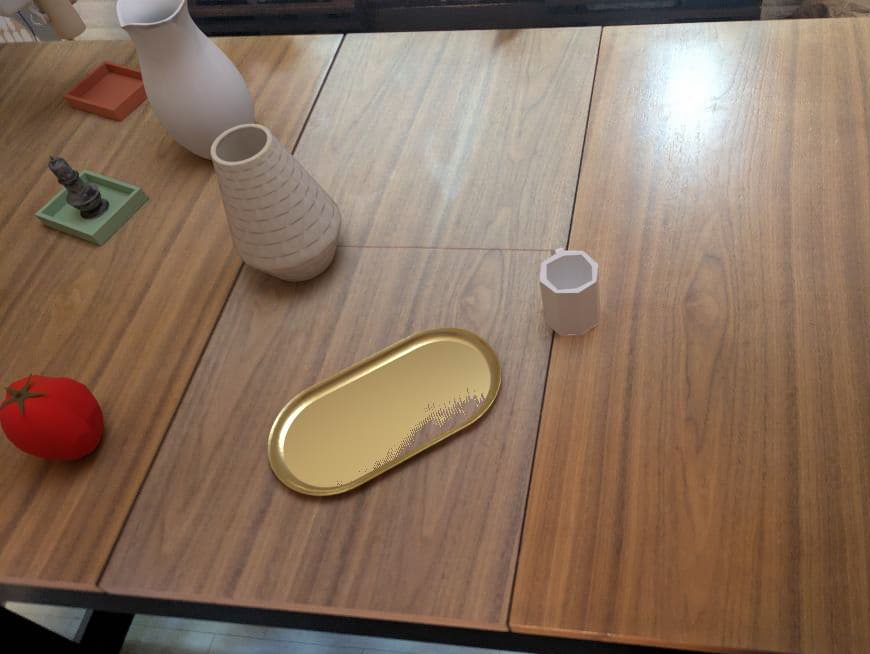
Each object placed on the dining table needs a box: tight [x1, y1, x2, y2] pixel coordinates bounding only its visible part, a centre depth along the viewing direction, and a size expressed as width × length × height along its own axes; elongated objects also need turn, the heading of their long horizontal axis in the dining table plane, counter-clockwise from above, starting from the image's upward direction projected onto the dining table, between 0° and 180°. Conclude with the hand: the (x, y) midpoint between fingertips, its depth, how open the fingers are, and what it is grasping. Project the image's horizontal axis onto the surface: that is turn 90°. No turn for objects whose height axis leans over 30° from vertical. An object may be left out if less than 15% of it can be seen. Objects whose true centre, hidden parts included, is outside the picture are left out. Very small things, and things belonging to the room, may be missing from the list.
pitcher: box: [115, 0, 256, 161], centre depth 126 cm, size 24×17×28 cm
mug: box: [539, 247, 601, 337], centre depth 104 cm, size 12×9×10 cm
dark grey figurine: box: [47, 155, 109, 220], centre depth 124 cm, size 6×6×12 cm
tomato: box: [0, 372, 105, 461], centre depth 98 cm, size 12×12×13 cm
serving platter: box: [267, 326, 503, 497], centre depth 101 cm, size 19×35×2 cm, turn 120°
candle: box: [32, 0, 87, 40], centre depth 132 cm, size 6×6×10 cm
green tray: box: [34, 169, 149, 247], centre depth 128 cm, size 15×13×3 cm
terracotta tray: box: [62, 60, 148, 122], centre depth 147 cm, size 15×13×3 cm
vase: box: [211, 123, 342, 283], centre depth 109 cm, size 17×17×23 cm
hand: (59, 13), depth 133 cm, fingers closed on candle, 5 cm apart
